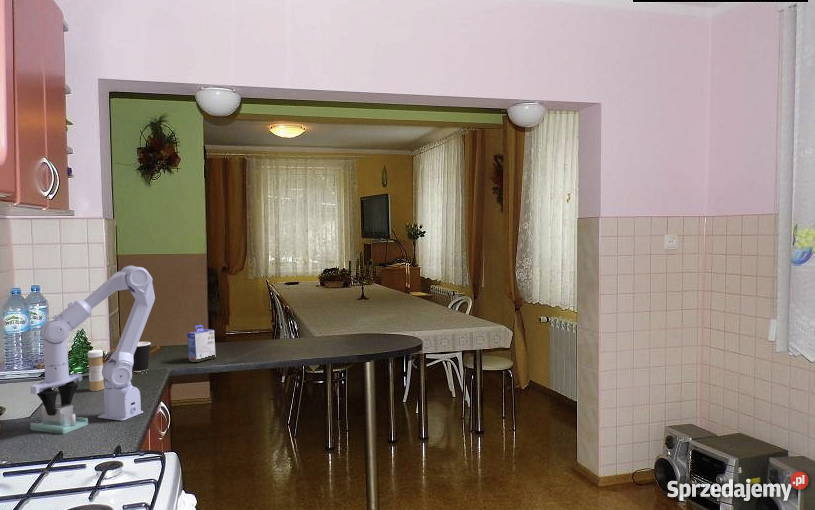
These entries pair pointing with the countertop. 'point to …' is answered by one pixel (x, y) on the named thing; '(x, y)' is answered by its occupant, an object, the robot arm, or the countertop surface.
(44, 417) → the drive block
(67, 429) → the teal base with pegs
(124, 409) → the robot arm
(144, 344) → the dixie cup
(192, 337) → the ink cartridge box
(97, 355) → the sprinkles bottle
